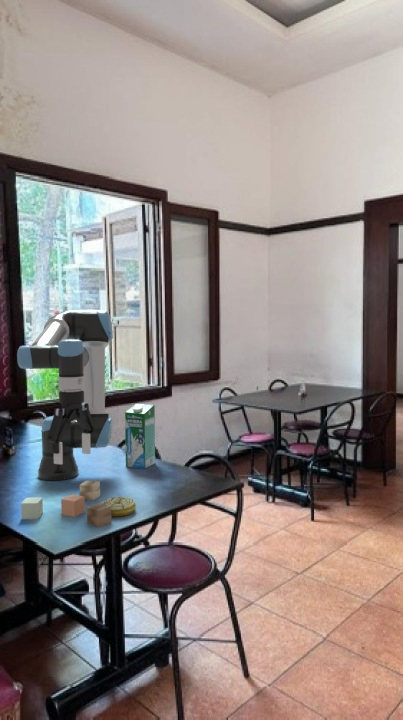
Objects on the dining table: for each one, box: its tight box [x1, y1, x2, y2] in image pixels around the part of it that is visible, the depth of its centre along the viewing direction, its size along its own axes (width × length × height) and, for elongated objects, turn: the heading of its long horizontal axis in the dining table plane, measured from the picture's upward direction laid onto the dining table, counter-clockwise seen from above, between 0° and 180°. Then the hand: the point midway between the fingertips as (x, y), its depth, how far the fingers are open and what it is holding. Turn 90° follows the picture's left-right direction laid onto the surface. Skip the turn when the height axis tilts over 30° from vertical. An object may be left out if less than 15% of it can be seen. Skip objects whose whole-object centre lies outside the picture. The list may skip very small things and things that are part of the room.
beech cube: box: [79, 480, 101, 501], centre depth 174 cm, size 5×5×5 cm
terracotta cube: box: [60, 494, 86, 518], centre depth 160 cm, size 5×5×5 cm
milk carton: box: [124, 403, 156, 470], centre depth 212 cm, size 9×9×25 cm
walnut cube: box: [86, 501, 112, 528], centre depth 152 cm, size 5×5×5 cm
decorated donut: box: [101, 496, 137, 518], centre depth 161 cm, size 10×11×4 cm
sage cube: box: [20, 497, 44, 520], centre depth 157 cm, size 5×5×5 cm
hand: (72, 458), depth 159 cm, fingers open, 13 cm apart
